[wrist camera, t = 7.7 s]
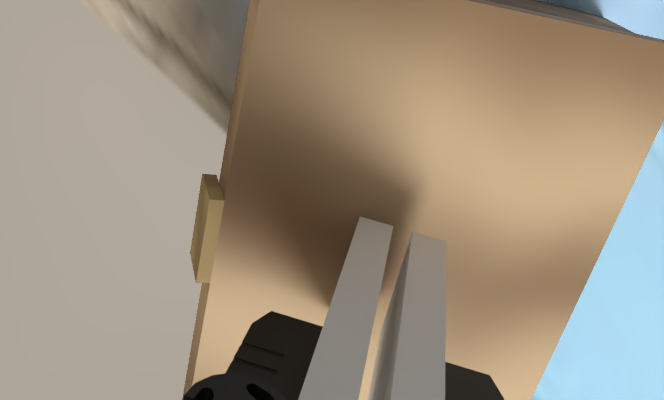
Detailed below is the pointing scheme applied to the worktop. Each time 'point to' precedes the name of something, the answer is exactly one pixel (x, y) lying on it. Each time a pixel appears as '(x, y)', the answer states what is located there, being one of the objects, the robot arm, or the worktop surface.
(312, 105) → the lid
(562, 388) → the worktop surface
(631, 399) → the worktop surface
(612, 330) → the worktop surface
